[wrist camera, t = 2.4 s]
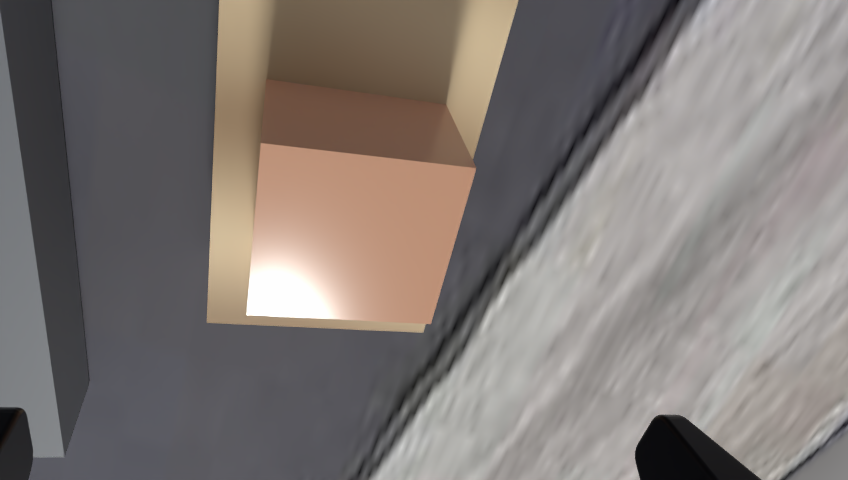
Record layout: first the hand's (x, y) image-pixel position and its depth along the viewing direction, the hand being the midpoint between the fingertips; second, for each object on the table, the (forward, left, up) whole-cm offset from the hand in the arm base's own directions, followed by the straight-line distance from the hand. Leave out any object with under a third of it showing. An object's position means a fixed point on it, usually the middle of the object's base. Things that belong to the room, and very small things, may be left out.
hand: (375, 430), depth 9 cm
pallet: (0, 0, -11) cm, 11 cm away
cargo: (0, 0, -8) cm, 8 cm away
